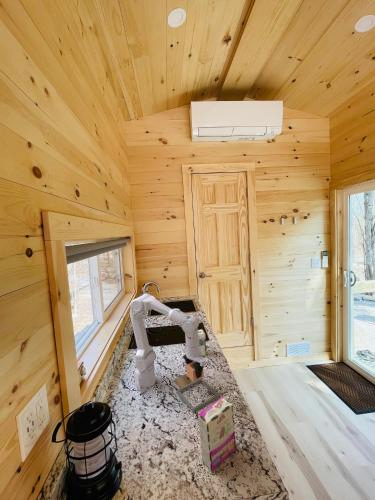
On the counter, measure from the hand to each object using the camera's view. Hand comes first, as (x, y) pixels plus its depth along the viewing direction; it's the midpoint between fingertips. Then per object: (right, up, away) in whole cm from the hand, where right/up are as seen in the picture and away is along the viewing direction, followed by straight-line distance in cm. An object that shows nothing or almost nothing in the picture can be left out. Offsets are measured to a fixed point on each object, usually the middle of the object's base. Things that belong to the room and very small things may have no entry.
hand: (194, 373), depth 102 cm
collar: (0, -1, 0) cm, 1 cm away
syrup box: (+4, -7, +32) cm, 33 cm away
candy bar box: (+7, -12, -27) cm, 30 cm away
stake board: (-4, -9, +10) cm, 14 cm away
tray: (+1, -10, -1) cm, 10 cm away
